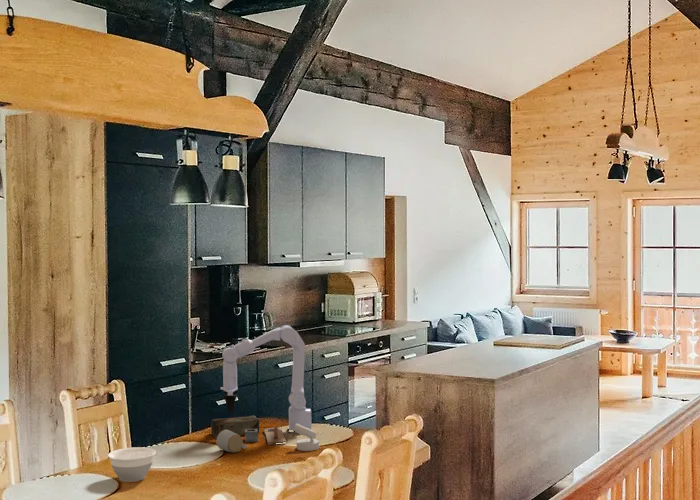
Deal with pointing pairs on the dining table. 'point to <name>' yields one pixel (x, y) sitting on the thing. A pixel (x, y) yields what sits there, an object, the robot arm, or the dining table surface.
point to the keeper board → (274, 435)
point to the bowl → (131, 462)
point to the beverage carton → (234, 425)
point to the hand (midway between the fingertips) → (230, 409)
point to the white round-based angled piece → (306, 443)
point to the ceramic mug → (230, 441)
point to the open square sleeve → (251, 435)
